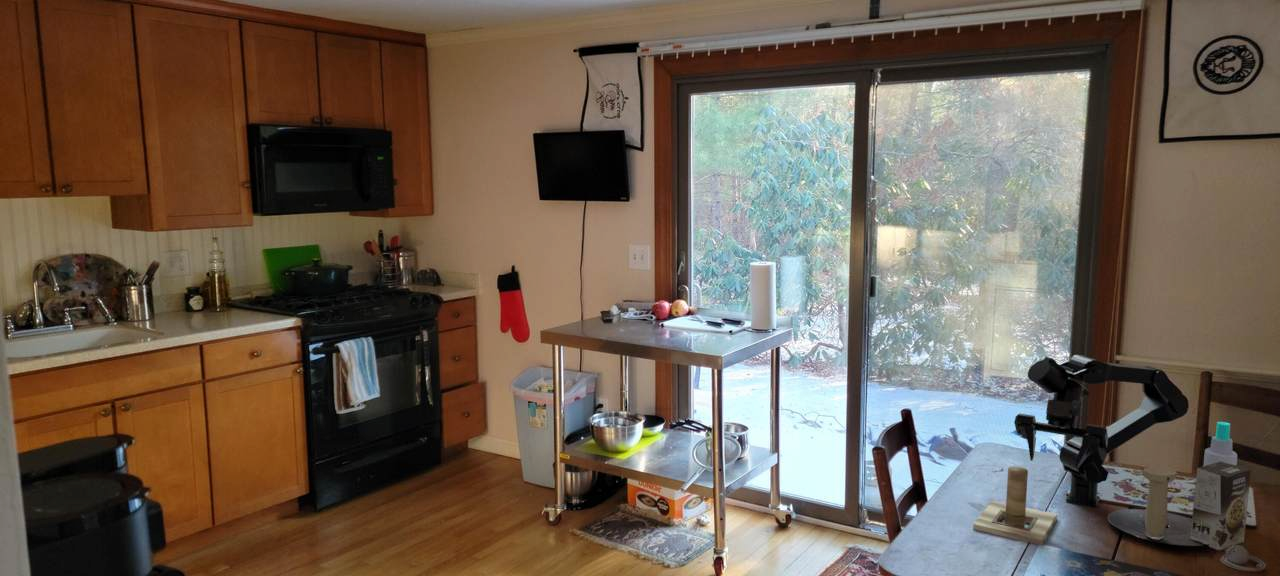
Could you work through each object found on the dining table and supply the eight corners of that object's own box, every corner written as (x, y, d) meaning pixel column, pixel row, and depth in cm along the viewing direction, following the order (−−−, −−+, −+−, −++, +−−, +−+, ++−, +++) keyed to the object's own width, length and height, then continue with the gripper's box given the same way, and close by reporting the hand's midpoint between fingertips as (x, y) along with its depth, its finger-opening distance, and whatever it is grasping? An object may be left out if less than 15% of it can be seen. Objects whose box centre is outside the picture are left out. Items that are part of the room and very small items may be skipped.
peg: (1007, 520, 196) (1010, 465, 194) (1026, 524, 193) (1030, 468, 192) (1002, 526, 193) (1005, 470, 191) (1022, 531, 190) (1025, 474, 188)
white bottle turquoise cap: (1218, 524, 192) (1228, 428, 189) (1192, 514, 198) (1201, 421, 195) (1237, 520, 195) (1246, 425, 191) (1210, 510, 200) (1219, 418, 197)
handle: (1176, 541, 184) (1182, 474, 182) (1149, 544, 183) (1155, 476, 181) (1158, 532, 189) (1164, 466, 187) (1132, 534, 188) (1138, 468, 186)
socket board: (991, 505, 204) (992, 499, 204) (1056, 519, 196) (1057, 513, 196) (973, 529, 191) (973, 523, 191) (1041, 544, 183) (1042, 538, 183)
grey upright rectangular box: (1220, 551, 180) (1227, 476, 177) (1188, 539, 185) (1195, 467, 183) (1245, 542, 184) (1252, 469, 181) (1213, 530, 189) (1220, 459, 187)
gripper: (1018, 379, 200) (1004, 438, 193) (1109, 391, 189) (1098, 454, 182) (1024, 404, 207) (1010, 462, 200) (1112, 417, 197) (1101, 478, 190)
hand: (1053, 463), depth 193 cm, fingers open, 9 cm apart
